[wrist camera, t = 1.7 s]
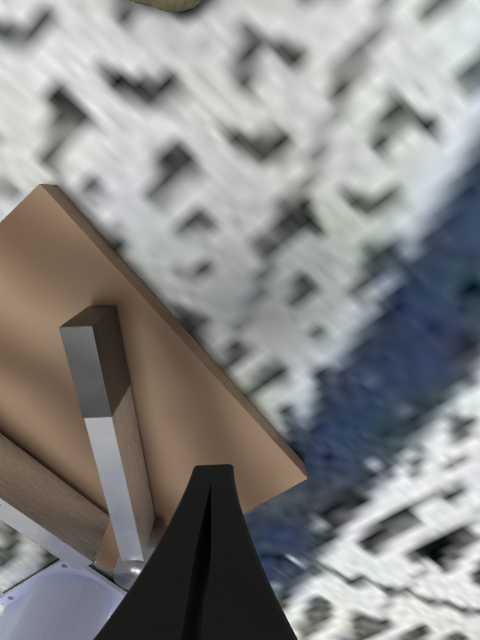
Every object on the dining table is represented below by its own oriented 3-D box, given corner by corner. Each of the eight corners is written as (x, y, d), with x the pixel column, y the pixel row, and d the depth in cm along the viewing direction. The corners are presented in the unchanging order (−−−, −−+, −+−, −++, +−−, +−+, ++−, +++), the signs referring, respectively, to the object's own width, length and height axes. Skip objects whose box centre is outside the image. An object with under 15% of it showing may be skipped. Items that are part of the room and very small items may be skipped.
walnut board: (130, 560, 27) (124, 579, 26) (-134, 368, 20) (-161, 381, 19) (303, 461, 23) (307, 478, 22) (56, 185, 16) (39, 183, 15)
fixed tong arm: (111, 517, 23) (93, 563, 20) (97, 525, 23) (77, 572, 20) (-73, 375, 18) (-131, 408, 15) (-88, 388, 19) (-148, 423, 16)
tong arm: (168, 540, 24) (159, 590, 21) (132, 541, 24) (117, 591, 21) (128, 304, 17) (104, 326, 14) (77, 306, 17) (42, 329, 14)
